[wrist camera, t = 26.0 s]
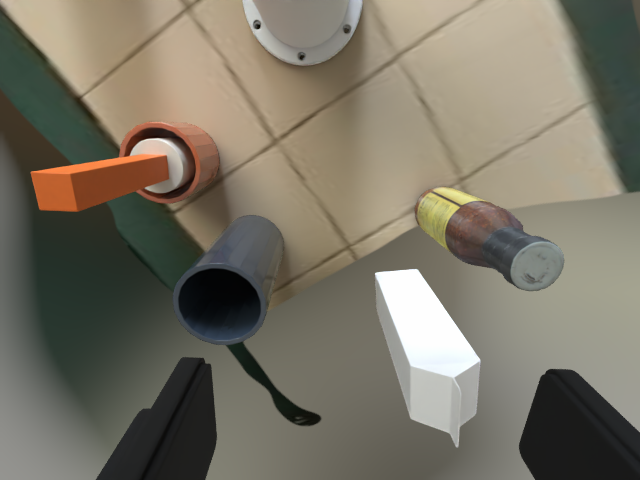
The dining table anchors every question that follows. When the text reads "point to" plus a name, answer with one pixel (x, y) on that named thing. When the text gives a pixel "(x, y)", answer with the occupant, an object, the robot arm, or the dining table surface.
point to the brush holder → (199, 146)
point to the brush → (116, 176)
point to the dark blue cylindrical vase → (231, 282)
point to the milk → (427, 352)
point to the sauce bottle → (488, 238)
